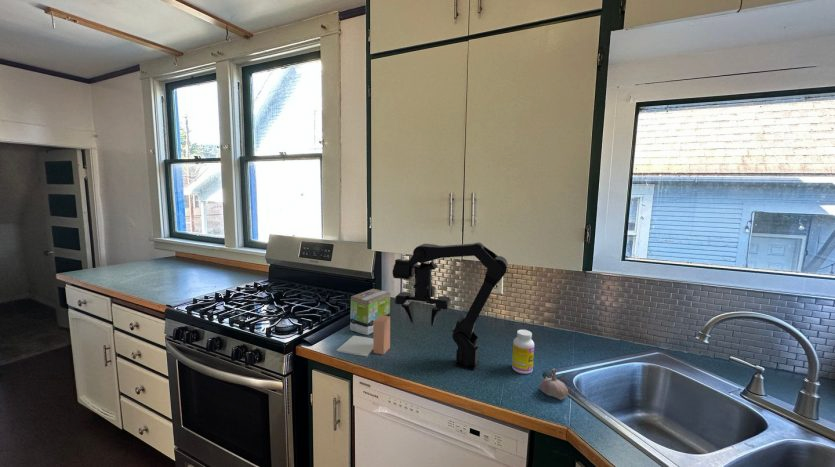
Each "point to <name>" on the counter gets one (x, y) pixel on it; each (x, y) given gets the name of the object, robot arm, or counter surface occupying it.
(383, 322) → the block
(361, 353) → the mat
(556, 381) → the garlic bulb
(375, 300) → the tea box
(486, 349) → the counter surface
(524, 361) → the supplement bottle
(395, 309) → the counter surface
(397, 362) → the counter surface
